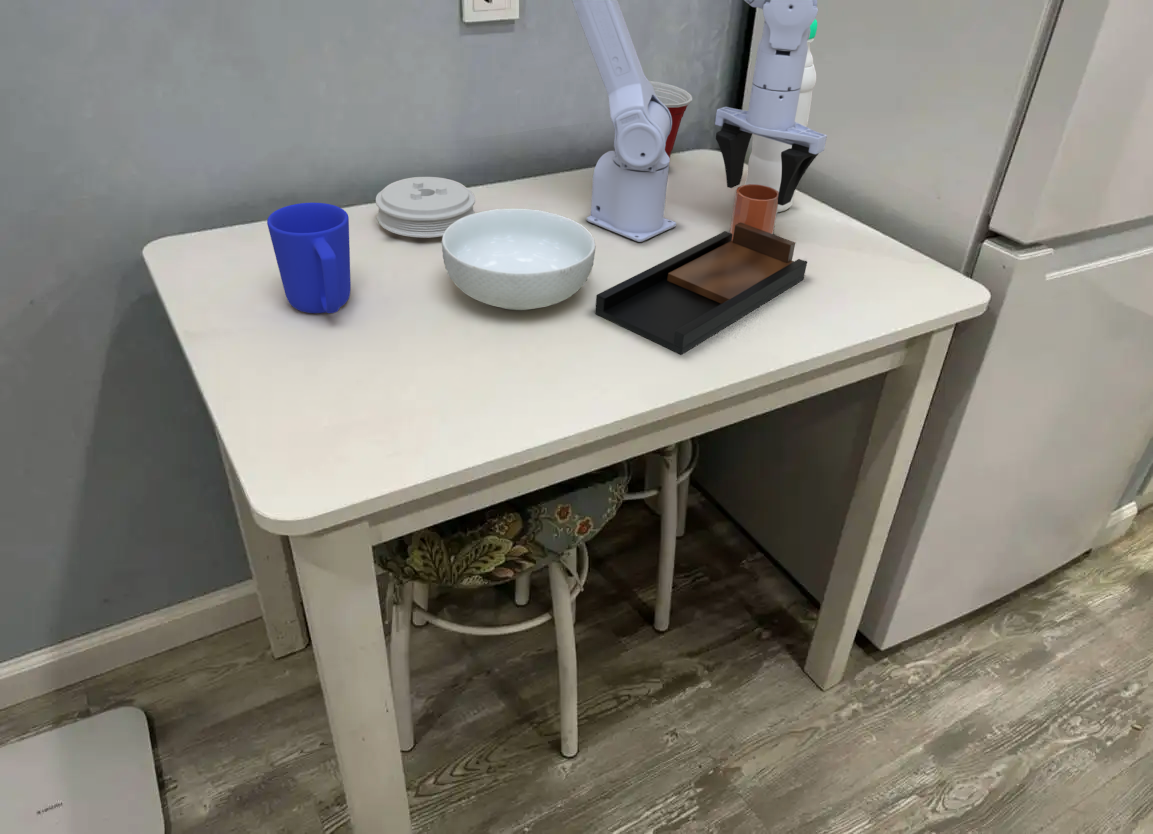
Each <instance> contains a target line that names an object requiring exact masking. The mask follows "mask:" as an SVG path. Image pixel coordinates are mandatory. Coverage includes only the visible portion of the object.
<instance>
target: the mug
mask: <svg viewBox="0 0 1153 834" xmlns="http://www.w3.org/2000/svg"><path fill="white" fill-rule="evenodd" d="M349 217H350V216H349V214H348V212H347V211H346V210H345V209H343V208H341V207H340V206H337V205H335V204H331V203H326V202H325V203H324V202H302V203H301V202H300V203H295V204H289V205H286V206H282V207H280V208H279V209H276V210H274V211H273V212H272V213H270V214H269V215H268V218H267V221H266V224H267V229H268V232H269V236H270V240H271V245H272V248H273V252H274V256H275V259H276V262H277V267H278V271H279V275H280V279H281V283H282V287H283V291H284V295H285V298H286V300H287V302H288V303H289V304H290V305H291V307H292V308H294V309H295V310H298V311H299V312H302V313H306V314H324V313H325V314H334V313H337V312H338V311H339V310H340V308H341V307H343V306H344V305H345V304H346V303H347V302H348V301H349V299H350V295H351V290H352V289H351V288H352V287H351V286H352V285H351V282H352V281H351V251H350V247H351V246H350V218H349Z"/></svg>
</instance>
